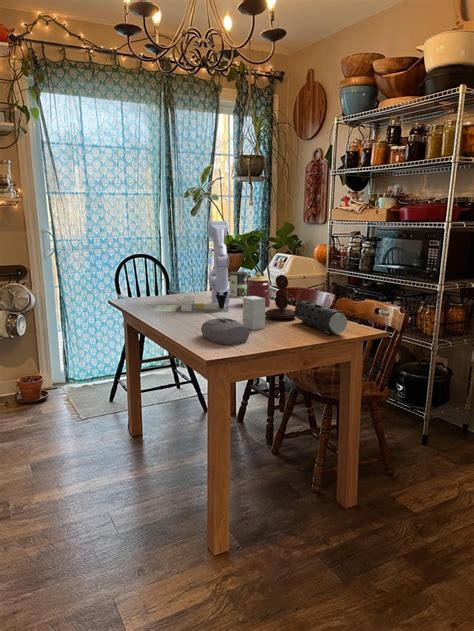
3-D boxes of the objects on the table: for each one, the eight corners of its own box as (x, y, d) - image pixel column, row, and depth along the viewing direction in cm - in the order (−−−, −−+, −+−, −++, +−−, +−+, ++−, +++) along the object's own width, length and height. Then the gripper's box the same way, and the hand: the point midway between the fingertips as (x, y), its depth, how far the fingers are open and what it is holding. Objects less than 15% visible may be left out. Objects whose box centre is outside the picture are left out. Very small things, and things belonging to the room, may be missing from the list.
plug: (224, 308, 246) (224, 302, 246) (224, 309, 243) (224, 303, 243) (193, 308, 247) (193, 302, 246) (192, 309, 244) (192, 303, 243)
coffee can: (248, 295, 288) (248, 271, 285) (245, 298, 278) (245, 273, 275) (231, 294, 290) (231, 271, 287) (227, 297, 280) (227, 273, 277)
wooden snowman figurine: (297, 321, 220) (299, 278, 216) (265, 321, 221) (266, 277, 217) (295, 315, 235) (297, 273, 231) (264, 314, 236) (265, 273, 231)
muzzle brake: (311, 321, 222) (312, 299, 219) (348, 336, 196) (349, 311, 194) (293, 323, 218) (294, 300, 216) (328, 338, 193) (329, 312, 191)
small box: (265, 328, 207) (265, 298, 204) (252, 330, 204) (253, 299, 201) (254, 324, 214) (254, 295, 211) (242, 326, 210) (242, 296, 207)
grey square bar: (194, 305, 252) (194, 296, 251) (191, 311, 238) (191, 301, 237) (185, 305, 253) (184, 296, 252) (181, 311, 238) (181, 301, 237)
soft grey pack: (254, 341, 186) (224, 331, 202) (254, 320, 184) (224, 311, 200) (221, 347, 177) (193, 336, 193) (221, 325, 176) (193, 316, 191)
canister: (244, 307, 252) (244, 273, 248) (246, 302, 264) (247, 270, 261) (269, 308, 250) (270, 274, 247) (270, 303, 263) (271, 271, 259)
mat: (229, 306, 253) (229, 306, 253) (228, 313, 237) (228, 312, 237) (158, 305, 253) (158, 305, 253) (152, 312, 238) (152, 311, 238)
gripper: (229, 282, 235) (229, 310, 238) (230, 278, 249) (230, 304, 252) (214, 282, 235) (214, 309, 238) (216, 278, 249) (216, 304, 252)
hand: (221, 307), depth 245 cm, fingers open, 7 cm apart
